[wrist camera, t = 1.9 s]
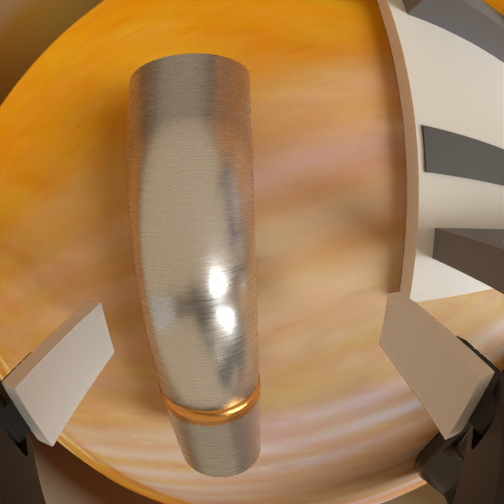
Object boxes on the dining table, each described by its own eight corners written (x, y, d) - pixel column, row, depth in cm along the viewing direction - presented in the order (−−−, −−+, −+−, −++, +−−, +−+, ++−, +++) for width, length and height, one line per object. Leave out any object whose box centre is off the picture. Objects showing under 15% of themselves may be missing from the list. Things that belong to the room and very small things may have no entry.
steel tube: (277, 449, 16) (212, 490, 13) (228, 410, 21) (167, 440, 17) (277, 73, 11) (157, 42, 7) (207, 103, 16) (115, 96, 12)
